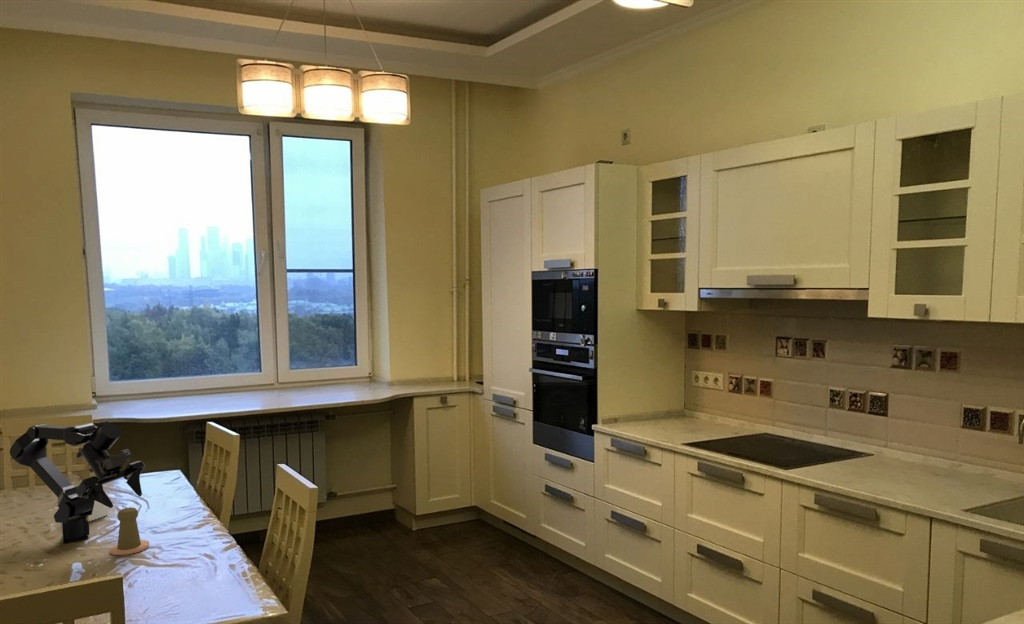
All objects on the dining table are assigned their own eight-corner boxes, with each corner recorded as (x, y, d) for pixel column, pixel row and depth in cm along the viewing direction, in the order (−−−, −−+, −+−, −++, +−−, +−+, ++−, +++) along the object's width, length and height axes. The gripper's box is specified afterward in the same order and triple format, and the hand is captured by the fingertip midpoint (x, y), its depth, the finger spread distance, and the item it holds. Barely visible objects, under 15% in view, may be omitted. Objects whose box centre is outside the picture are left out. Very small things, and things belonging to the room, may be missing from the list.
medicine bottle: (72, 520, 229) (71, 484, 229) (93, 513, 236) (91, 478, 236) (88, 522, 227) (86, 486, 226) (108, 515, 233) (106, 480, 233)
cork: (126, 551, 198) (124, 513, 198) (112, 548, 201) (110, 510, 200) (145, 544, 203) (144, 506, 203) (132, 541, 206) (130, 504, 206)
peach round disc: (112, 558, 195) (112, 555, 195) (108, 548, 203) (107, 545, 203) (152, 549, 201) (152, 546, 201) (146, 540, 209) (146, 537, 209)
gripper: (78, 453, 195) (108, 497, 192) (139, 434, 212) (166, 474, 209) (63, 475, 200) (91, 519, 196) (123, 455, 216) (150, 495, 213)
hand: (126, 501), depth 204 cm, fingers open, 9 cm apart
